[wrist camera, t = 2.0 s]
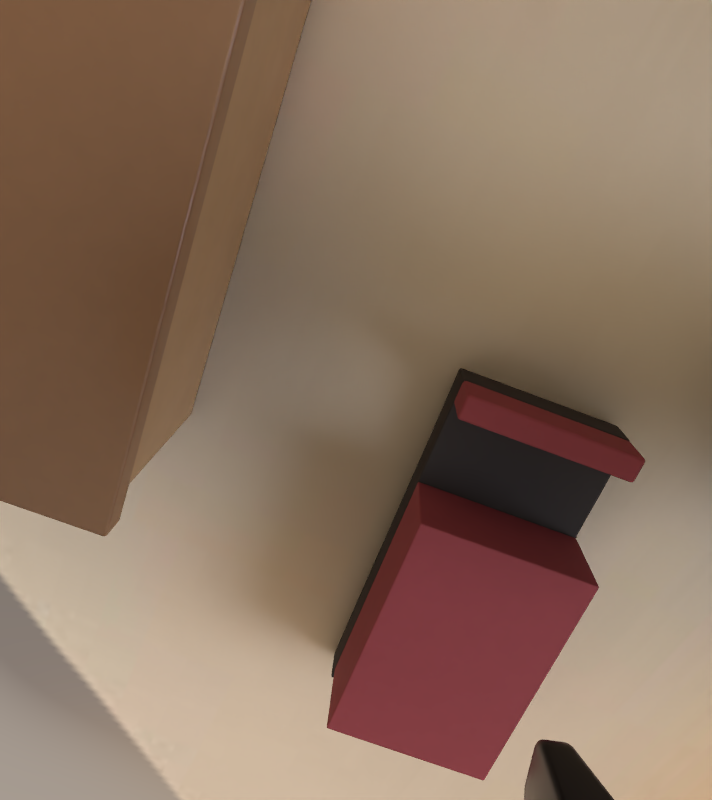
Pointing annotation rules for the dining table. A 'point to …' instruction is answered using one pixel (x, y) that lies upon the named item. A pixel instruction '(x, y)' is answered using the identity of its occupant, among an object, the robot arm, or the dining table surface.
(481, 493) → the dark red two-tone block
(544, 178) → the dining table surface
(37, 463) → the shoebox
